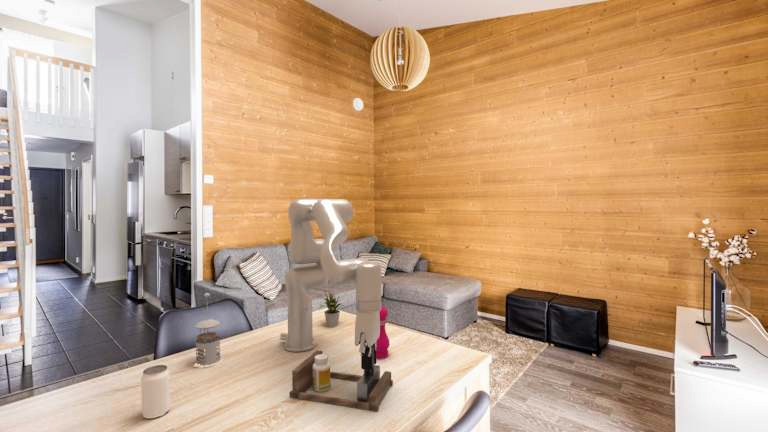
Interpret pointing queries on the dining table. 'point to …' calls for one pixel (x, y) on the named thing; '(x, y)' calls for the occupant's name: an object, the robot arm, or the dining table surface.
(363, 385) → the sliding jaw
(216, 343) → the french press
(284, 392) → the dining table surface
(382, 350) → the pepper mill
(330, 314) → the house plant
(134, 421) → the dining table surface
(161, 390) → the can
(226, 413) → the dining table surface
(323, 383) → the supplement bottle
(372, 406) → the vise frame
